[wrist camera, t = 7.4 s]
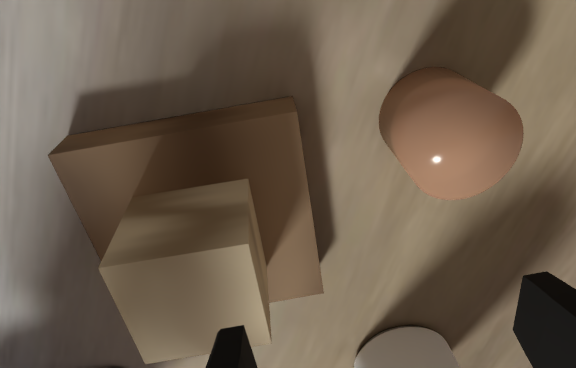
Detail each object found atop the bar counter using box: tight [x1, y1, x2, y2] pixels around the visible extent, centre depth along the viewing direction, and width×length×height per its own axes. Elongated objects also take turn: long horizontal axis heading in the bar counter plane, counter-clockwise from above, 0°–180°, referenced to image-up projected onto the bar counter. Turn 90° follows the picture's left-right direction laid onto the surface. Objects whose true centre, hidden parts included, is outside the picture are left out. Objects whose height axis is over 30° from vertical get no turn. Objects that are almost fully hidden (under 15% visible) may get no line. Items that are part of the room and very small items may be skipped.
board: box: [48, 96, 324, 303], centre depth 19 cm, size 10×10×2 cm
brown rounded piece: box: [379, 67, 523, 200], centre depth 17 cm, size 4×4×4 cm
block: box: [98, 179, 272, 364], centre depth 16 cm, size 5×5×4 cm
